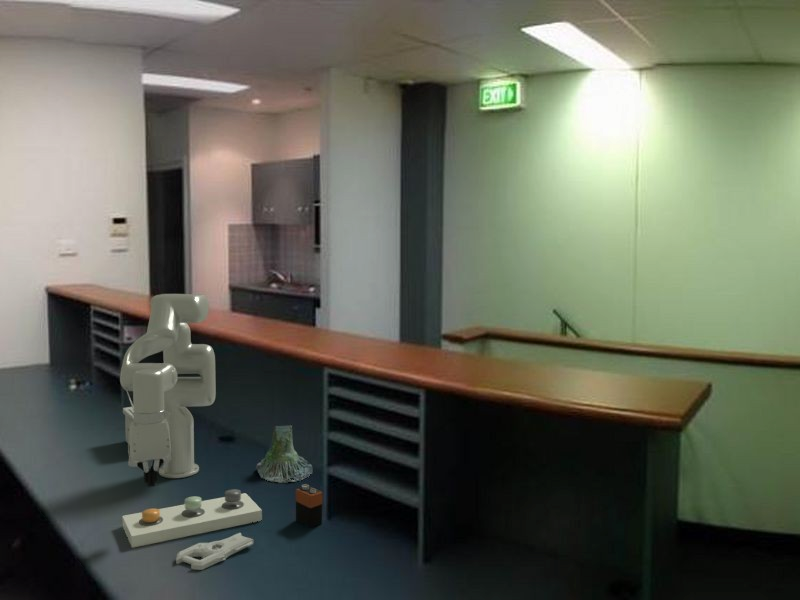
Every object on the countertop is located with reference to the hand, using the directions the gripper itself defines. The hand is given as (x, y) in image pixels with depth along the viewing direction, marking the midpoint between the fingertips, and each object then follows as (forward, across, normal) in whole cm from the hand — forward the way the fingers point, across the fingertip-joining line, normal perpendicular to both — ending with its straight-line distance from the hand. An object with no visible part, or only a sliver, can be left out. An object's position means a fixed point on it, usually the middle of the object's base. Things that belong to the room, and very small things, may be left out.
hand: (150, 484), depth 181 cm
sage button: (+8, -11, 0) cm, 14 cm away
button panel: (+13, -11, 0) cm, 17 cm away
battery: (+13, -39, +14) cm, 43 cm away
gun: (+13, -11, +21) cm, 27 cm away
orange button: (+9, 0, 0) cm, 9 cm away
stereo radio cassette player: (+13, -11, -74) cm, 76 cm away
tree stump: (+13, -47, -26) cm, 55 cm away
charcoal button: (+8, -22, 0) cm, 23 cm away
